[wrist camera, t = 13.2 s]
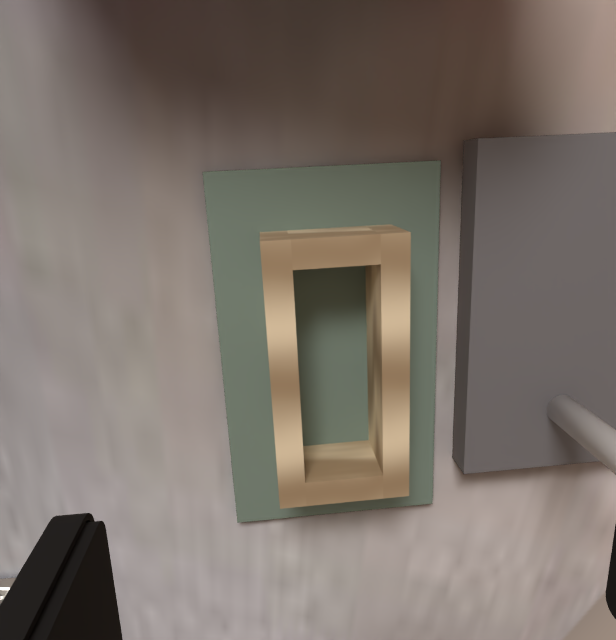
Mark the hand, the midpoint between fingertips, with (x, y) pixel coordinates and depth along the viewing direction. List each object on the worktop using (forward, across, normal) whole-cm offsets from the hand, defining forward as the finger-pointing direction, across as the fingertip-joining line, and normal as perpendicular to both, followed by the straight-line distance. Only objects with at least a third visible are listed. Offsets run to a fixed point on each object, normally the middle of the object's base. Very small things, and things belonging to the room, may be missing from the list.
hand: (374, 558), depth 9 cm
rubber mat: (+22, -2, +4) cm, 23 cm away
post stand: (+22, -16, +1) cm, 27 cm away
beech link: (+22, -2, +4) cm, 22 cm away
